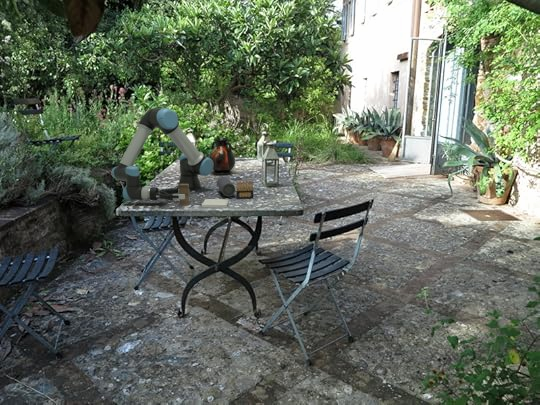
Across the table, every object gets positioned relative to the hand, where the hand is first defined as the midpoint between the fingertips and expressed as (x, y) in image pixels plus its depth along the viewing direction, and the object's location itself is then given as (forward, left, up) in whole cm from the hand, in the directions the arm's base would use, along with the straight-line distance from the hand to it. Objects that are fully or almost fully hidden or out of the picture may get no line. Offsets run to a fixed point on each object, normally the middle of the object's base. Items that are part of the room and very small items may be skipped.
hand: (187, 194), depth 264 cm
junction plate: (-1, +16, -6) cm, 17 cm away
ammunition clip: (-17, +32, -7) cm, 37 cm away
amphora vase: (-100, +8, -7) cm, 101 cm away
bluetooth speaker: (-28, +19, -7) cm, 35 cm away
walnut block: (0, -2, -7) cm, 7 cm away
